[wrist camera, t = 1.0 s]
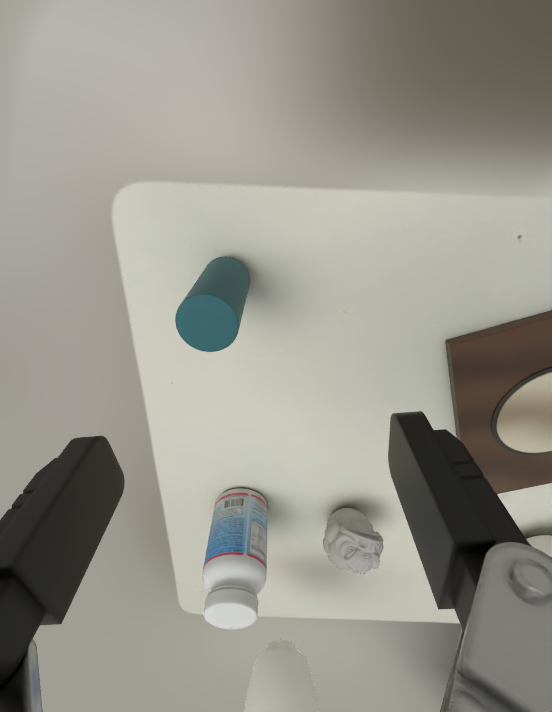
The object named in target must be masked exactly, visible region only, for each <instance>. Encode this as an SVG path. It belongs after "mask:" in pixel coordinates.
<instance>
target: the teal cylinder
mask: <svg viewBox="0 0 552 712" xmlns="http://www.w3.org/2000/svg"><path fill="white" fill-rule="evenodd" d="M249 285H250V277H249V273H248V271H247V269H246V267H245V266H244V265H243V264H242V263H241V262H240V261H238V260H236V259H234V258H231V257H219V258H216V259H214V260H212V261H211V262H210V263H209V264H208V265H207V267H206V268H205V270H204V271H203V273H202V274H201V276H200V277H199V279H198V280H197V281H196V283H195V284H194V286H193V287H192V289H191V290H190V292H189V293H188V295H187V296H186V297H185V299H184V300H183V302H182V303H181V305H180V306H179V308H178V310H177V313H176V327H177V330H178V332H179V334H180V336H181V337H182V339H183V340H184V341H185V342H186V343H187V344H189V345H190V346H192V347H193V348H195V349H198V350H201V351H206V352H215V351H219V350H222V349H224V348H226V347H228V346H229V345H230V344H231V343H232V342H233V341H234V340H235V338H236V336H237V334H238V330H239V326H240V322H241V318H242V314H243V310H244V305H245V301H246V297H247V293H248V289H249Z"/></svg>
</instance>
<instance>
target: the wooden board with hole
mask: <svg viewBox="0 0 552 712" xmlns="http://www.w3.org/2000/svg"><path fill="white" fill-rule="evenodd" d="M446 349H447V357H448V366H449V374H450V383H451V391H452V399H453V408H454V416H455V425H456V433H457V439H459V440H460V441H461V442H462V443H463V444H464V445H465V447H466V448H467V450H468V451H469V453H470V454H471V456H472V457H473V459H474V462H475V464H477V465H478V467H479V468H480V470H481V471H482V473H483V474H484V478H486V479H487V480H488V482H489V483H490V485H491V486H492V488H493V490H494V491H495V493H496V494H499V493H504V492H509V491H514V490H519V489H524V488H529V487H534V486H539V485H543V484H548V483H552V311H549V312H545V313H542V314H538V315H535V316H531V317H528V318H524V319H521V320H517V321H513V322H510V323H506V324H503V325H499V326H496V327H492V328H489V329H485V330H481V331H478V332H474V333H471V334H467V335H464V336H460V337H457V338H453V339H450V340H446Z"/></svg>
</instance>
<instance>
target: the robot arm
mask: <svg viewBox="0 0 552 712" xmlns="http://www.w3.org/2000/svg"><path fill="white" fill-rule="evenodd" d="M388 460H389V468H390V473H391V477H392V480H393V483H394V485H395V488H396V491H397V494H398V497H399V499H400V502H401V505H402V508H403V511H404V514H405V516H406V519H407V522H408V525H409V528H410V530H411V533H412V536H413V539H414V542H415V545H416V547H417V550H418V553H419V556H420V559H421V561H422V564H423V567H424V570H425V573H426V576H427V578H428V581H429V584H430V587H431V590H432V593H433V595H434V598H435V601H436V604H437V607H438V609H455V611H456V614H457V616H458V619H459V621H460V624H461V626H462V630H461V634H460V638H459V641H458V645H457V650H456V653H455V657H454V660H453V664H452V668H451V672H450V676H449V679H448V683H447V687H446V691H445V695H444V698H443V702H442V706H441V710H440V712H552V557H550V556H549V555H547V554H546V553H544V552H542V551H540V550H538V549H536V548H534V547H532V546H531V545H530V544H529V542H528V541H527V540H526V538H525V537H524V536H523V534H522V533H521V531H520V529H519V528H518V526H517V525H516V523H515V522H514V520H513V519H512V517H511V516H510V514H509V513H508V511H507V509H506V508H505V506H504V505H503V503H502V502H501V500H500V499H499V497H498V496H497V494H496V493H495V491H494V490H493V488H492V486H491V485H490V483H489V482H488V480H487V479H486V478H484V474H483V473H482V471H481V470H480V468H479V467H478V465H477V464H475V462H474V459H473V457H472V456H471V454H470V453H469V451H468V450H467V448H466V447H465V445H464V444H463V443H462V442H461V441H460V440H459V439H457V438H456V437H455V436H453V435H452V434H451V433H450V432H448V431H447V430H446V429H444V430H433V428H432V427H431V425H430V423H429V421H428V420H427V418H426V416H425V415H424V413H423V412H421V411H419V412H406V413H394V414H392V416H391V422H390V436H389V451H388ZM123 490H124V475H123V472H122V470H121V467H120V465H119V463H118V461H117V459H116V457H115V455H114V453H113V450H112V448H111V446H110V444H109V442H108V440H107V439H106V438H105V437H103V436H94V437H81V438H75V439H73V440H71V441H70V443H69V444H68V445H67V446H66V448H65V449H64V450H63V452H62V453H61V454H60V456H59V457H58V458H55V459H53V461H51V462H50V463H49V464H48V465H46V466H45V467H44V468H43V469H42V470H40V471H39V472H38V473H36V475H35V476H34V477H33V479H32V480H31V481H30V482H29V484H28V485H27V486H26V488H25V489H24V490H23V494H20V495H19V497H18V498H17V499H16V501H15V502H14V503H13V504H12V508H11V509H9V510H8V511H7V512H6V514H5V515H4V516H3V517H2V518H1V520H0V712H43V711H42V700H41V689H40V678H39V666H38V656H37V647H36V643H35V641H34V640H33V637H34V635H35V633H36V631H37V629H38V627H39V626H40V625H52V624H61V623H62V621H63V619H64V617H65V615H66V613H67V611H68V609H69V606H70V604H71V602H72V600H73V598H74V596H75V594H76V592H77V589H78V587H79V585H80V583H81V581H82V579H83V577H84V575H85V572H86V570H87V568H88V566H89V564H90V562H91V560H92V558H93V556H94V553H95V551H96V549H97V547H98V545H99V543H100V541H101V539H102V536H103V534H104V532H105V530H106V528H107V526H108V524H109V522H110V519H111V517H112V515H113V513H114V511H115V509H116V507H117V505H118V502H119V500H120V498H121V496H122V494H123Z"/></svg>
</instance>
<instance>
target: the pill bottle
mask: <svg viewBox="0 0 552 712" xmlns="http://www.w3.org/2000/svg"><path fill="white" fill-rule="evenodd" d="M267 517H268V508H267V503H266V501H265V499H264V498H263V497H262V496H261V495H260V494H259V493H257V492H255V491H252V490H249V489H240V488H239V489H232V490H228V491H226V492H224V493H223V494H221V495H220V496H219V497H218V499H217V501H216V503H215V507H214V512H213V518H212V523H211V529H210V534H209V540H208V546H207V551H206V557H205V563H204V568H203V576H202V577H203V583H204V586H205V588H206V589H207V591H208V592H209V593H208V595H207V597H206V600H205V608H204V617H205V619H206V621H207V622H208V623H210V624H212V625H213V626H216V627H219V628H224V629H240V628H244V627H247V626H250V625H251V624H253V623H254V622H255V621H256V618H257V611H258V599H257V594H258V593H259V592H260V591H261V590H262V589H263V587H264V585H265V581H266V568H267Z"/></svg>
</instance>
